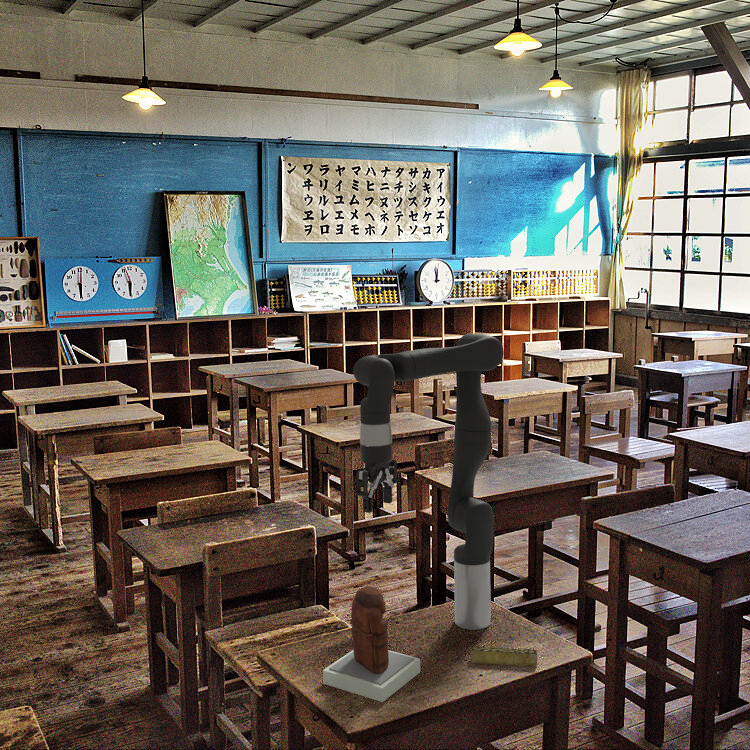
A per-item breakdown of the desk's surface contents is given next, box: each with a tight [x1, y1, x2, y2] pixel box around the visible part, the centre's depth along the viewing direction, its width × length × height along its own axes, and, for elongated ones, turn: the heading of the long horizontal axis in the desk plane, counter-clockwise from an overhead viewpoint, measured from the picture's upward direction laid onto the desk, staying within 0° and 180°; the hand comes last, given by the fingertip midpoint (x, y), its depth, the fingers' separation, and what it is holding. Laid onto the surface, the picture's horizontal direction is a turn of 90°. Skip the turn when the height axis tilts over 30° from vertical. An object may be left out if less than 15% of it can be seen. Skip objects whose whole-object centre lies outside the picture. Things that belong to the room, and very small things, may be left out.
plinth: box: [322, 649, 421, 703], centre depth 199 cm, size 16×16×4 cm
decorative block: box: [470, 645, 538, 668], centre depth 205 cm, size 15×2×4 cm, turn 79°
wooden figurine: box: [350, 585, 389, 674], centre depth 198 cm, size 12×6×18 cm, turn 31°
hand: (378, 507), depth 209 cm, fingers open, 8 cm apart
